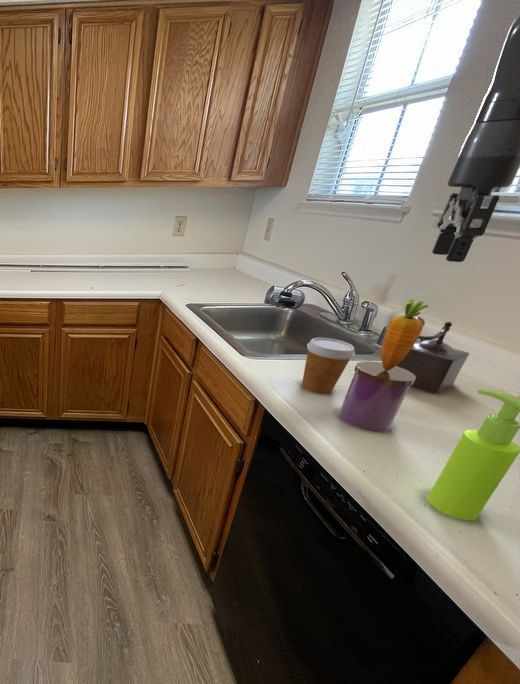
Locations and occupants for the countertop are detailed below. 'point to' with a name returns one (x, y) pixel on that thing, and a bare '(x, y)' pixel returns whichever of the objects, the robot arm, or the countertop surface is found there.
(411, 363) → the brown manual coffee grinder
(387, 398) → the jar
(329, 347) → the disposable coffee cup
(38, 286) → the countertop surface
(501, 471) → the soap dispenser
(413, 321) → the carrot
